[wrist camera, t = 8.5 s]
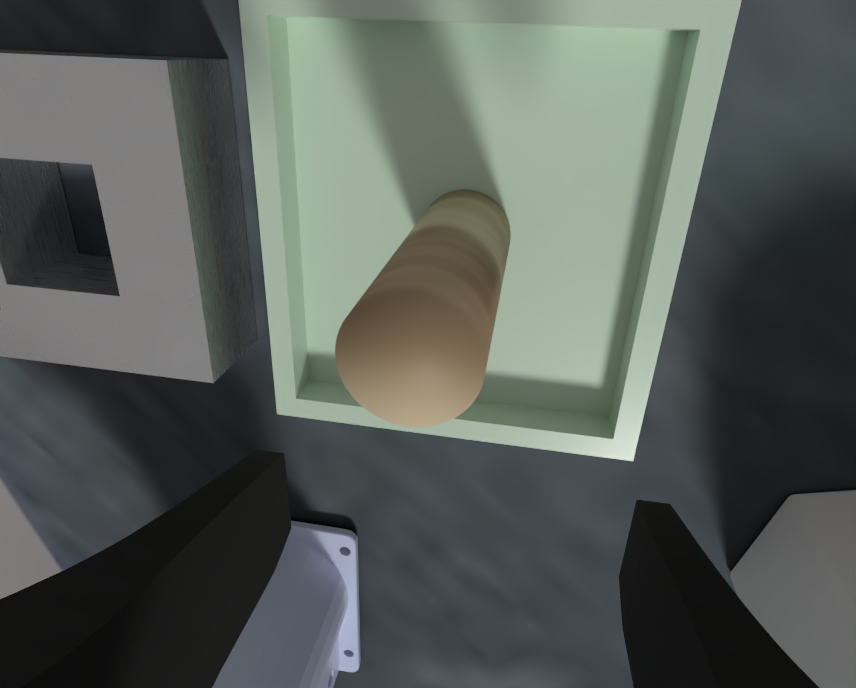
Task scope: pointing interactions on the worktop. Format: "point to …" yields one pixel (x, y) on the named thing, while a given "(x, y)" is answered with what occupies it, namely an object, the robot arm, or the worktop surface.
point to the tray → (486, 187)
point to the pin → (429, 315)
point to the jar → (807, 584)
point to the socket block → (123, 215)
